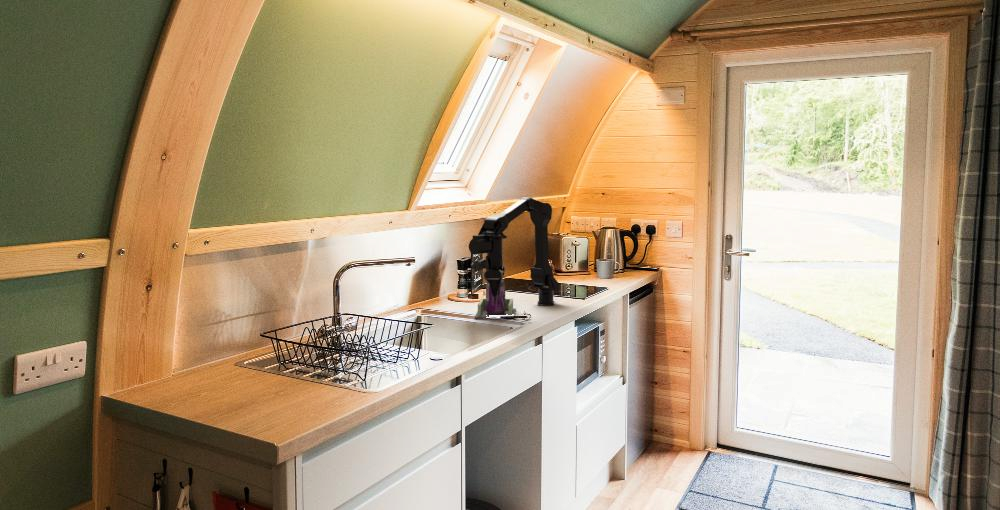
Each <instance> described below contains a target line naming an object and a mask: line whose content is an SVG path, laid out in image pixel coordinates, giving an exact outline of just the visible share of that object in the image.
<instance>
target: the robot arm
mask: <svg viewBox="0 0 1000 510" xmlns="http://www.w3.org/2000/svg"><path fill="white" fill-rule="evenodd" d="M552 207H553V206H552V205H551V204H550V203H549V202H542V201H540V200H536V199H534V198H532V197H526V196H525V197H524V196H522V197H520V198H519V200H517V201H516V202H515V203H513V204H511V205H510V206H509V207H507V208H506V209H504V210H503V211H502V212H500V213H495V214H492V215H489V216H487V217H486V218H484V220H483V224H482V225H481V227H480V230H479V232H478V234H477V235H476V234H475V235H472V239H470V241H469V243H468V250H469V252H470V253H471V254H472V255H474V256H475V255H477V256H478V255H482V254H483V255H484V254H486V255H485V258H482V259H476V260H474V261H473V262H471V264H470V265H471V269H472V270H473V273H474V274H475V273H478V271H482V270H484V269H485V272H484V275H483V276H484V277H483V278H484V280H485V281H486V282H487V281H488V282H489V283H490V287H491V291H492V295H493V297H496V295H497V292H498V289H499V286H500V283H501V281H502V280H504V279H503V278H504V276H505V273H506V265H505V264H504V261H503V260H504V253H503V251H504V250H503V249H504V248H503V240H505V239H507V238H508V236H507V235H506V234H504V232H505V231H506V230H507V229H508V228H509V225H510V223H512V221H514V220H516V218H518V217H519V216H521V215H522V214H524V213H525V212H527V213H529V216H530V217H529V218H530V220H531V222H532V224H533V225H534V241H535V242H534V246H535V247H534V248H535V251H534V253H535V255H534V256H535V263H534V265H533V267H530V268H529V269H530V276H529V277H530V279H531V282H532V284H533V285H532V286H533V288H535V289H538V300H537V306H555V300H554V291H556V290H558V289H559V286H560V282H558V280H557V279H556V278H555V277H554V270H553V268H552V265H551V264H550V262H549V231H548V227H549V225H550V221H552V220H551V219H552V216H553V215H552V214H553V208H552Z"/></svg>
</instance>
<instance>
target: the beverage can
mask: <svg viewBox="0 0 1000 510" xmlns="http://www.w3.org/2000/svg"><path fill="white" fill-rule="evenodd" d="M485 299H486V312H488V313H489V314H502V313H503V312H505V311H506V309H505V299H506V284H505V280H504V279H502V281H501V283H500V286H499V289H498V292H497V295H496V297H493V295H492V291H491V287H490V283H489V282H488V281H487V280H486V285H485Z"/></svg>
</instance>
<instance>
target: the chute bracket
mask: <svg viewBox="0 0 1000 510" xmlns="http://www.w3.org/2000/svg"><path fill="white" fill-rule="evenodd" d="M505 309H506V311H505V312H503V313H502V314H489V313H488V312H486V298H481V299H479V302H478V303H477V312H476V313H475V315H474V320H484V319H483V318H486V317H487V316H488V317H489V315H506V314H508V315H512V314H515V315H516V313H515V312H516V311H517V308H515V307H514V298H505ZM486 315H487V316H486Z"/></svg>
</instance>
